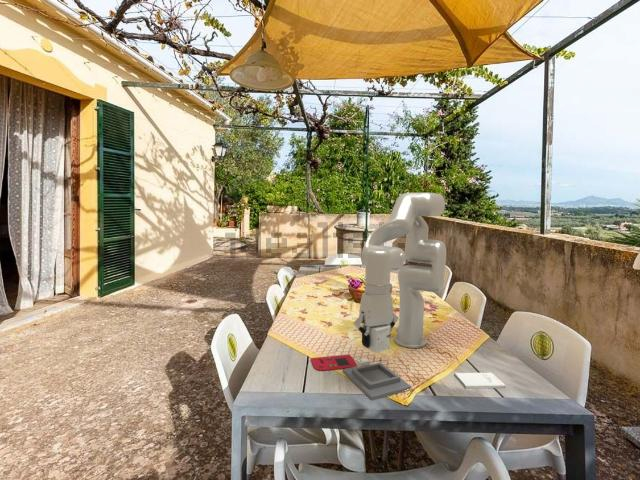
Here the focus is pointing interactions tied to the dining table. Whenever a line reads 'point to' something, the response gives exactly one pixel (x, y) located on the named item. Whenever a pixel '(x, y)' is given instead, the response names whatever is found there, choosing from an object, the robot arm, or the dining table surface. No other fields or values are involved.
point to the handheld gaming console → (333, 363)
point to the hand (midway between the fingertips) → (376, 343)
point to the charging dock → (375, 379)
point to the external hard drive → (479, 380)
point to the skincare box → (379, 338)
